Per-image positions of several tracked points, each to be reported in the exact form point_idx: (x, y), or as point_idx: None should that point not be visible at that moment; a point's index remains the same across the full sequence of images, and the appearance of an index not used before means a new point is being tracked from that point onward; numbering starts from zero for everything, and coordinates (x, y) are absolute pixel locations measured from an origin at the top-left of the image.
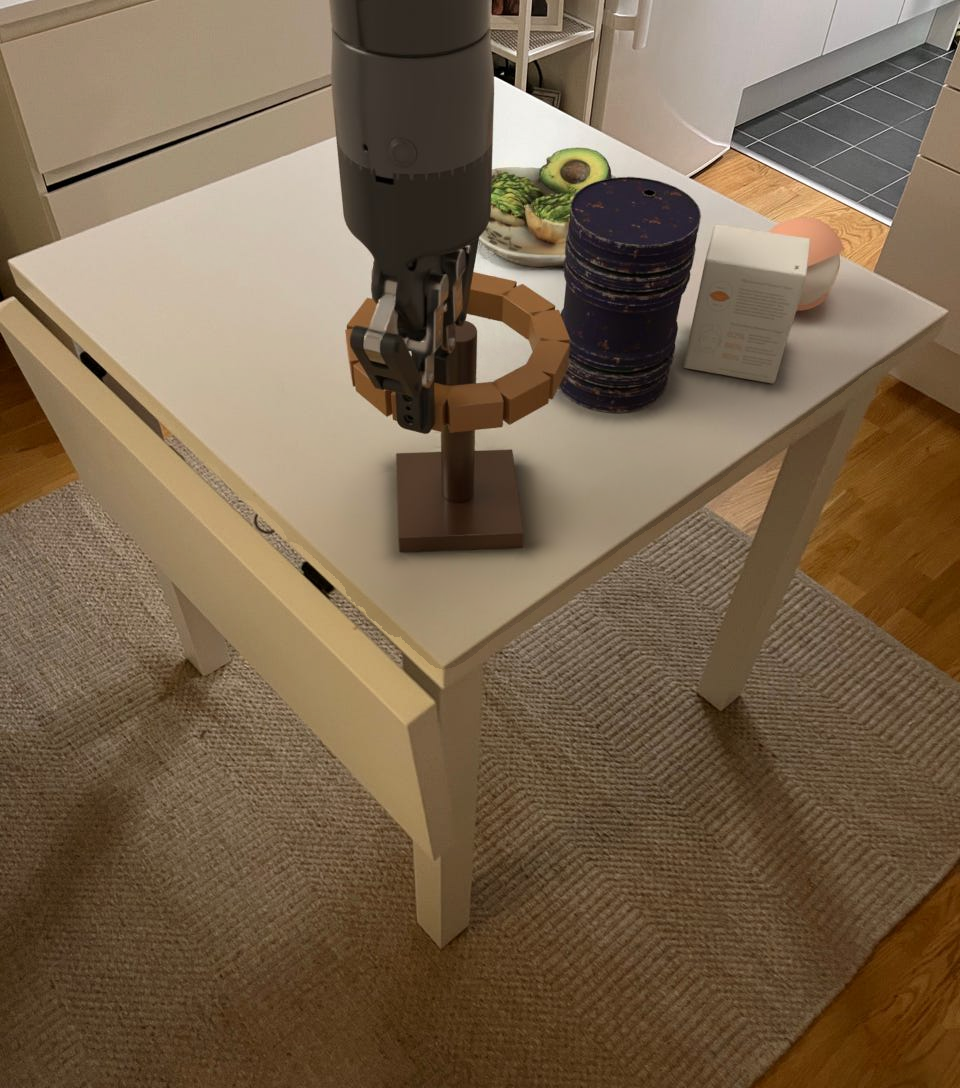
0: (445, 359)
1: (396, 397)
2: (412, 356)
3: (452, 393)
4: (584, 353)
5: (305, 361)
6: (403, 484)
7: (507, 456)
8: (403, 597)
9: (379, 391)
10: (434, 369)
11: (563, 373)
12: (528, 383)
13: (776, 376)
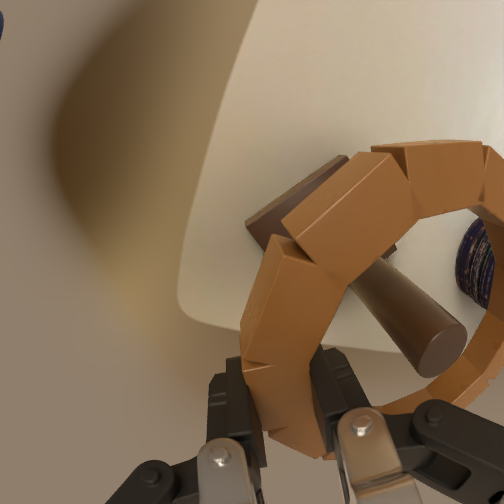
0: (328, 452)
1: (226, 400)
2: (321, 409)
3: (299, 427)
4: (489, 270)
5: (401, 17)
6: (312, 187)
7: (388, 251)
8: (202, 256)
9: (246, 338)
10: (319, 421)
11: None
12: None
13: None
